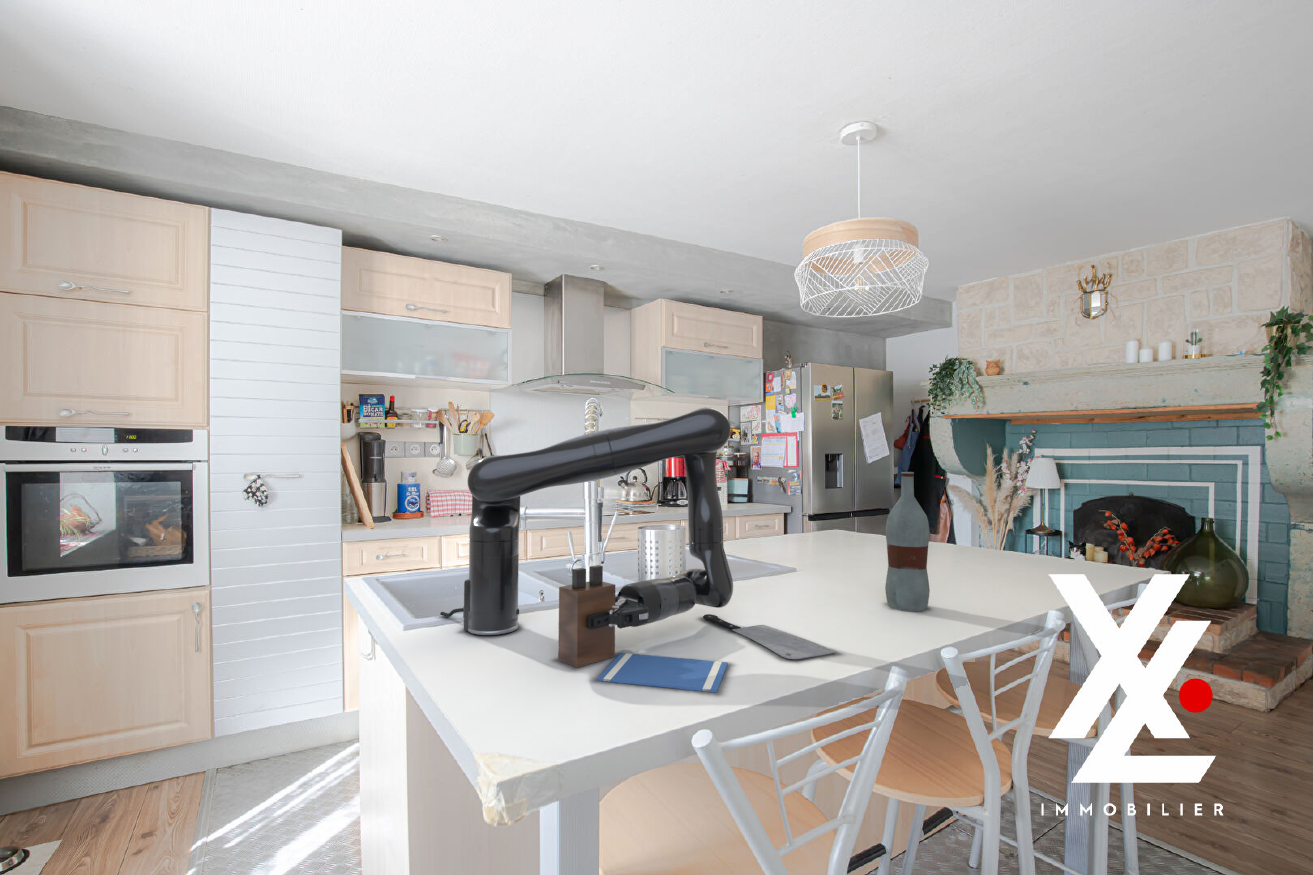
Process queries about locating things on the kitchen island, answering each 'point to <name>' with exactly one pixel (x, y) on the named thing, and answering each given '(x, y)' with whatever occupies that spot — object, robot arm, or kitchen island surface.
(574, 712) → the kitchen island surface
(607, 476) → the robot arm
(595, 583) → the knife block
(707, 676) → the towel
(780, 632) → the cleaver
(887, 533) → the bottle
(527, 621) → the kitchen island surface
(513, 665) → the kitchen island surface
